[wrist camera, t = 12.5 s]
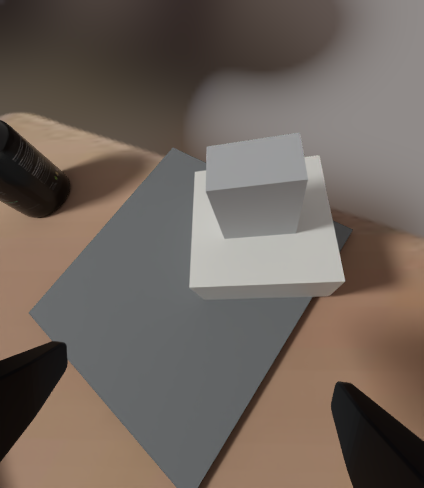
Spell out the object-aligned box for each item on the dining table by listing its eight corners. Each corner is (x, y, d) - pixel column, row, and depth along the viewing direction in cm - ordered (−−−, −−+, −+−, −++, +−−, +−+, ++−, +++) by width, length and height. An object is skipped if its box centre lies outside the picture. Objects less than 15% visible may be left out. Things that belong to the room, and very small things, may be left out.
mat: (350, 232, 22) (352, 229, 21) (191, 497, 17) (189, 502, 16) (174, 151, 30) (172, 147, 29) (33, 313, 25) (28, 312, 24)
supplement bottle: (51, 166, 33) (-53, 78, 23) (82, 184, 31) (-19, 94, 20) (14, 205, 32) (-116, 131, 21) (43, 228, 29) (-88, 156, 19)
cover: (329, 296, 19) (386, 243, 10) (204, 299, 21) (153, 258, 12) (310, 189, 23) (338, 78, 14) (206, 200, 25) (169, 110, 16)
